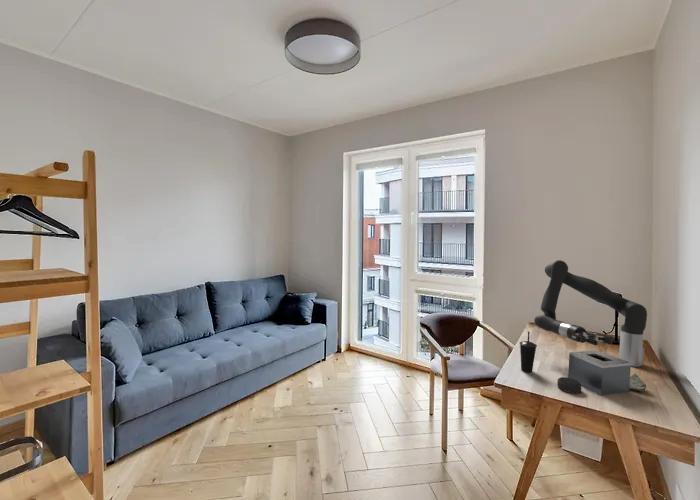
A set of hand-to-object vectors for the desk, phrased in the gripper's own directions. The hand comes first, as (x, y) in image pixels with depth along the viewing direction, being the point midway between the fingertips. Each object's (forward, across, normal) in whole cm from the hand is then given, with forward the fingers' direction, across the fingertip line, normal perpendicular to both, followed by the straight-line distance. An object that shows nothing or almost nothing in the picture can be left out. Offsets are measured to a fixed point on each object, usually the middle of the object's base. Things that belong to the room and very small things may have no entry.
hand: (604, 342), depth 150 cm
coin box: (-2, 0, +20) cm, 21 cm away
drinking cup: (-22, -20, +21) cm, 36 cm away
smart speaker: (-2, -17, +21) cm, 27 cm away
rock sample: (+5, +13, +21) cm, 25 cm away
